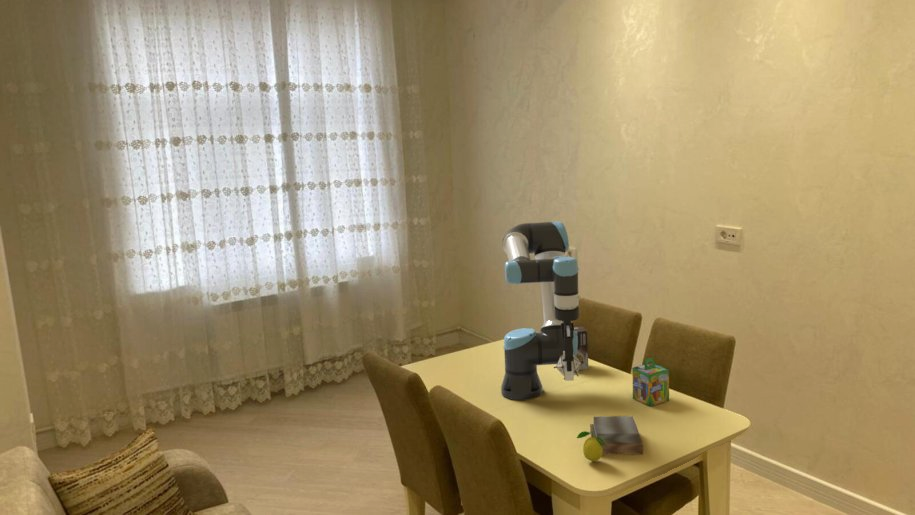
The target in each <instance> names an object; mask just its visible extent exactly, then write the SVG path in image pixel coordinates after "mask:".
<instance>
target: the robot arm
mask: <svg viewBox="0 0 915 515" xmlns="http://www.w3.org/2000/svg"><path fill="white" fill-rule="evenodd" d="M501 242H502V250H503V251H504V253H505V254H506V256H507V260H508V261H505V263H504V276H505V282H506V283H507V284H508V285H515V284H516V285H519V284H532V283H533V284H536V283H540V288H541V289H540V291H541V299H542V312H543V314H542V315H543V324H542V326H541V327H540V328H539V329H540V332H536V330H535V329H534V328H532V327H531V328H528V327H523V328H522V327H521V328H517V329H513V330H510V331H509V332H508V333H506V334H505V335H504V337H503V350H504V376H503V380H502V383H501V386H500V391H501V392H500V393H501V395H502V396H503V397H504V398H507V399H510V400H516V401H526V400H527V401H529V400H533V399H536V398H539V397H540V396H541V395H542V394H543V384H542V382H541V381H542V380H541V379H540V376H539V374H538V368H537V367H538V366H548V365H557V363H558V361H559V358H560V355H559V354H561V355H564V354H565V359H563V361H564V364H565V380H564V381H565V382H566V381H570V382H571V381H572V382H573V381H575V380H574V377H575V375H574V370H573V361H574V358H573V354H574V355H575V356H577V347H578V336H577V332H576V331H574V327H575V325H574V323H573V321H577V320H578V319H579V318H580V308H579V304H580V303H579V300H580V299H581V295H579V265H578V263H579V262H578V259H577V258H576V257H573V256H566V253H567V252H569V249H570V248H569V247H570V245H569V236H568V232H567V229H566V226H565V224H564V223H563V222H561V221H552V220H551V221H544V222H543V221H542V222H525V223H520V224H517V225H515V226H513V227H511V228H510V229H509V230H508V231H507V232H506V233H505V234H504V236H503V237H502V241H501ZM531 254H534V259H531V256H530V255H531ZM573 351H574V352H573Z"/></svg>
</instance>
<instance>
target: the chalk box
mask: <svg viewBox="0 0 915 515" xmlns="http://www.w3.org/2000/svg"><path fill="white" fill-rule="evenodd" d="M649 362H650V363H649ZM631 369H632V370H631V371H632V400H635V401H638V402H639V403H642V404H644V405H647V406H649V407H652V406H655V405H659V404H662V403H666V401H667V402H669V401H670V370H669V368H668V369H667V368H665V367H663V366H661V365H657V364H656V363H655V358H654V357H650V358H646V359H643V364H642V365H638V366H634V367H632V368H631Z"/></svg>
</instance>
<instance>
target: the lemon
mask: <svg viewBox="0 0 915 515" xmlns="http://www.w3.org/2000/svg"><path fill="white" fill-rule="evenodd" d="M591 433H592V437H591V436H590V437H588V438H587V439H585V440H584V443H583V446H582V452H583V455H584V458H586V459H587V460H588V461H591V463H595V462H596V461H599V460H601V458H602V457H603V456H602V455H603V454H602V453H603V449H602V445H601V443H600V441H601V442H602V443H603V444H604V445H605V443H604V441H603V440H602V439H601V438H599V437H596V436H594V435H593V429H592V432H591ZM589 435H591V434H590V432H588V431H585V430H584V431H581V432H580V433H578V434H577V437H576V439H582V438H585V437H587V436H589ZM593 436H594V437H596V438H594V437H593ZM599 440H600V441H599ZM605 447H606V445H605ZM606 448H607V447H606Z"/></svg>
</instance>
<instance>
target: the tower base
mask: <svg viewBox="0 0 915 515" xmlns="http://www.w3.org/2000/svg"><path fill="white" fill-rule="evenodd" d="M589 428H590V432H589V433H590V434H589V435H590V437H592V433H591V432H592V429H593V435H594V436H596V437H599V438H601V439H602V440H603V441H604V443H605V445H606V447H607V448H606V447H605V445H604V444H603V443H602V442H601V441H600V440H599V441H600V443H601V445H602V449H603V453H602V455H644V443H643V440H642V438H641V435H640V432H639V430H638V426H637V424H636V422H635V418H634V416H633V415H632V416H631V415H627V416H626V415H625V416H623V415H622V416H621V415H620V416H614V415H611V416H610V415H609V416H605V415H604V416H593V423H590V424H589ZM594 436H593V437H594ZM596 437H594V438H596Z"/></svg>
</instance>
